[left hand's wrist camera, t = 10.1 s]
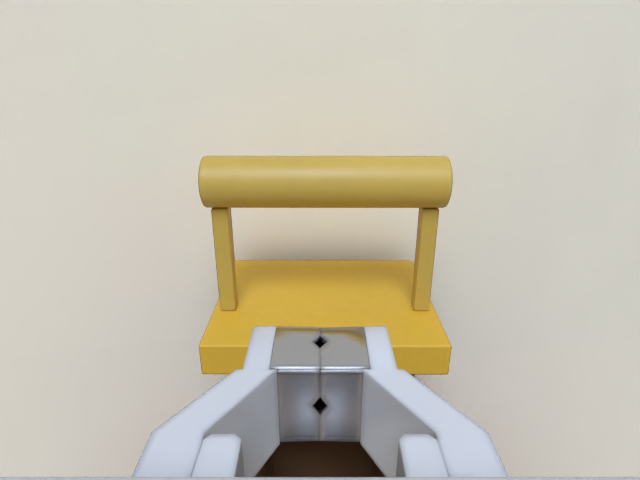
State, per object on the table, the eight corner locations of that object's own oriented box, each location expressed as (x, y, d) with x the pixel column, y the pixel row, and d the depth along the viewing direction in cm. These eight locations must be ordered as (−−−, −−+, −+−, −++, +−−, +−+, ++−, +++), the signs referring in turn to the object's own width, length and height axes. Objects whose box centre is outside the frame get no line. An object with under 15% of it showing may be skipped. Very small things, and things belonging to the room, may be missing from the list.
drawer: (225, 135, 20) (178, 173, 13) (423, 135, 20) (474, 174, 13) (253, 512, 28) (233, 648, 22) (391, 512, 28) (413, 649, 22)
